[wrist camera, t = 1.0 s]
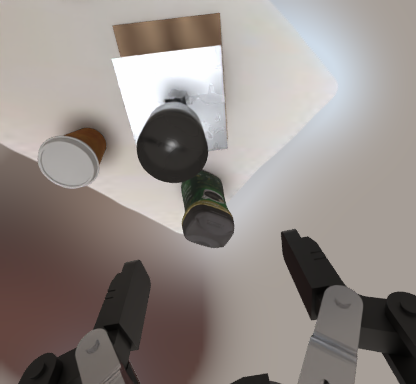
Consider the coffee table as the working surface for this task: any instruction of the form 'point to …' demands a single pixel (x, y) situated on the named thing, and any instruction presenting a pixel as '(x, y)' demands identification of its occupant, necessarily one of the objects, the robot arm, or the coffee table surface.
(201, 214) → the coffee jar
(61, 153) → the disposable coffee cup
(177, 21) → the walnut board
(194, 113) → the plunger
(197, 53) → the silver block with slot
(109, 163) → the coffee table surface
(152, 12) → the coffee table surface
